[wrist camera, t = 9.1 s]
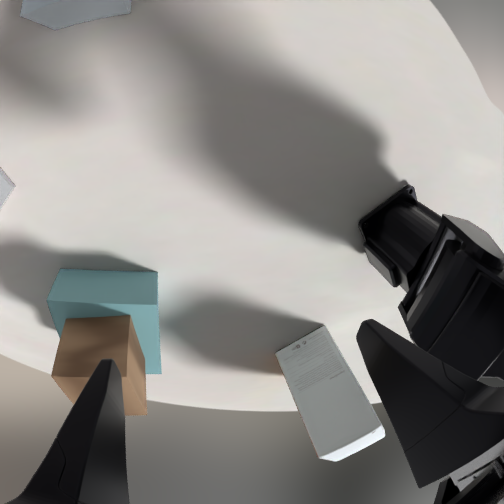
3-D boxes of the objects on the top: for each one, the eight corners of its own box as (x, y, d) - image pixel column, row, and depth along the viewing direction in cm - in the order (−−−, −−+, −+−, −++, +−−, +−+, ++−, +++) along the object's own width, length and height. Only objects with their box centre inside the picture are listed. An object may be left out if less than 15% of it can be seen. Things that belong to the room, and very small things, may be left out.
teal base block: (157, 269, 21) (157, 304, 17) (159, 339, 25) (161, 374, 21) (61, 266, 18) (46, 300, 15) (79, 336, 22) (73, 369, 19)
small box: (273, 352, 29) (317, 459, 19) (324, 323, 29) (384, 424, 18) (297, 377, 34) (335, 463, 23) (340, 353, 33) (387, 435, 23)
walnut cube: (130, 314, 17) (126, 376, 13) (145, 359, 20) (147, 414, 16) (66, 318, 16) (51, 376, 12) (88, 361, 19) (82, 414, 15)
